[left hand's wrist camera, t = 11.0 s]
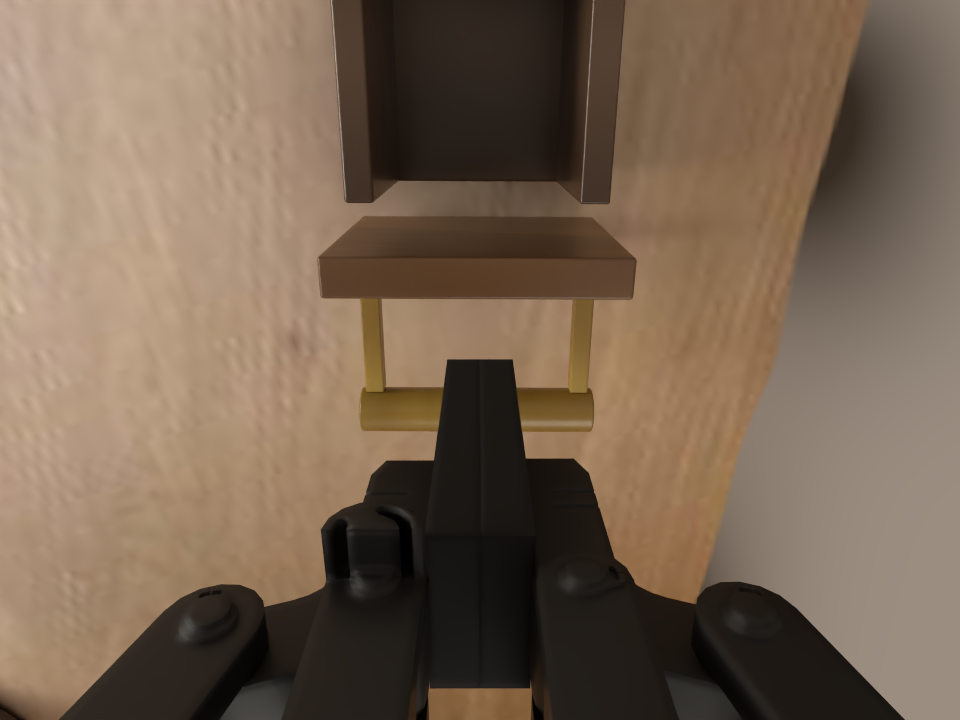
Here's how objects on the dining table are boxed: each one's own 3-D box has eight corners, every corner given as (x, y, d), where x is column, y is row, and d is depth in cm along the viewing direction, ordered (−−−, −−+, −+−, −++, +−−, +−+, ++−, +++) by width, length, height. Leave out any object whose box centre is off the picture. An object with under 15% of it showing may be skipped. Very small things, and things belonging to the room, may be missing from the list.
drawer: (582, 377, 27) (617, 468, 20) (372, 376, 27) (335, 468, 20) (629, -316, 19) (715, -563, 12) (329, -318, 19) (242, -566, 12)
